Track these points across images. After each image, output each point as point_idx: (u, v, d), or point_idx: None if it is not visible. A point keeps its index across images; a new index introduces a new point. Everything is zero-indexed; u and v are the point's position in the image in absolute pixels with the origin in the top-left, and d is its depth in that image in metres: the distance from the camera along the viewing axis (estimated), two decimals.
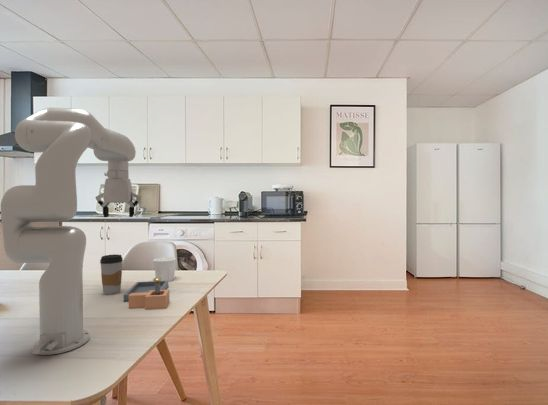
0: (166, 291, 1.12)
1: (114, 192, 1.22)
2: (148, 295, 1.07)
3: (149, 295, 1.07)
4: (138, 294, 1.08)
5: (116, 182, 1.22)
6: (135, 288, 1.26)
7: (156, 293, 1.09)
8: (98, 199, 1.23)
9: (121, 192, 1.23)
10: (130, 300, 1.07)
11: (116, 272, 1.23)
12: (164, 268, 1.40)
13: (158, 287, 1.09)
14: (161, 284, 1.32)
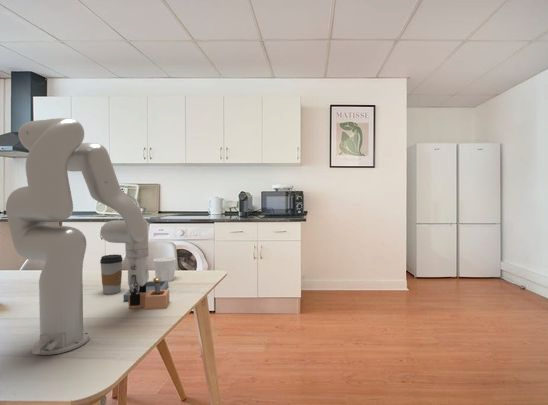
0: (166, 291, 1.12)
1: (145, 272, 1.09)
2: (148, 295, 1.07)
3: (149, 295, 1.07)
4: None
5: (145, 261, 1.10)
6: None
7: (156, 293, 1.09)
8: (134, 287, 1.03)
9: (147, 270, 1.12)
10: None
11: (116, 272, 1.23)
12: (164, 268, 1.40)
13: (158, 287, 1.09)
14: (161, 284, 1.32)
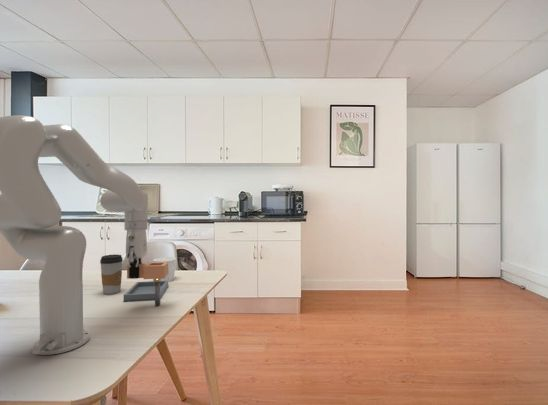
0: (165, 263, 1.11)
1: (143, 245, 1.08)
2: (147, 265, 1.06)
3: (148, 265, 1.07)
4: None
5: (144, 234, 1.09)
6: (135, 288, 1.26)
7: (156, 293, 1.09)
8: (133, 260, 1.03)
9: (145, 244, 1.11)
10: (128, 270, 1.06)
11: (116, 272, 1.23)
12: None
13: (158, 287, 1.09)
14: (161, 284, 1.32)
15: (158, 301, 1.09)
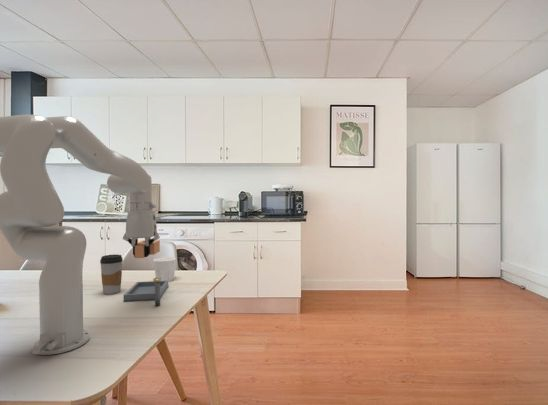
0: None
1: None
2: None
3: None
4: (143, 244, 1.14)
5: None
6: (135, 288, 1.26)
7: (156, 293, 1.09)
8: None
9: None
10: (143, 250, 1.11)
11: (116, 272, 1.23)
12: (164, 268, 1.40)
13: (158, 287, 1.09)
14: (161, 284, 1.32)
15: (158, 301, 1.09)
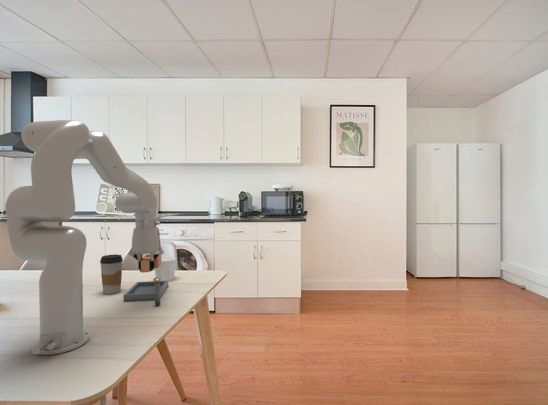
0: (149, 254, 1.29)
1: None
2: None
3: None
4: (148, 259, 1.21)
5: None
6: (135, 288, 1.26)
7: (156, 293, 1.09)
8: None
9: None
10: (149, 264, 1.18)
11: (116, 272, 1.23)
12: (164, 268, 1.40)
13: (158, 287, 1.09)
14: (161, 284, 1.32)
15: (158, 301, 1.09)
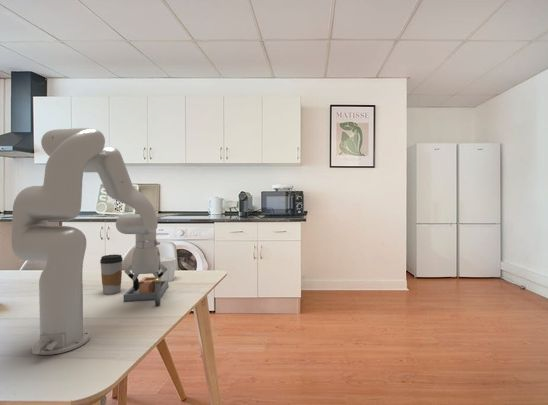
0: (148, 277, 1.29)
1: None
2: None
3: None
4: (147, 283, 1.20)
5: None
6: None
7: (156, 293, 1.09)
8: None
9: None
10: (148, 289, 1.18)
11: (116, 272, 1.23)
12: None
13: (158, 287, 1.09)
14: (161, 284, 1.32)
15: (158, 301, 1.09)
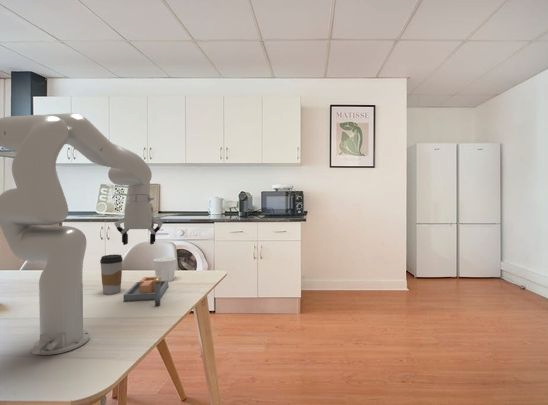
0: (148, 277, 1.29)
1: None
2: None
3: None
4: (147, 283, 1.20)
5: None
6: (135, 288, 1.26)
7: (156, 293, 1.09)
8: None
9: None
10: (148, 289, 1.18)
11: (116, 272, 1.23)
12: (164, 268, 1.40)
13: (158, 287, 1.09)
14: (161, 284, 1.32)
15: (158, 301, 1.09)
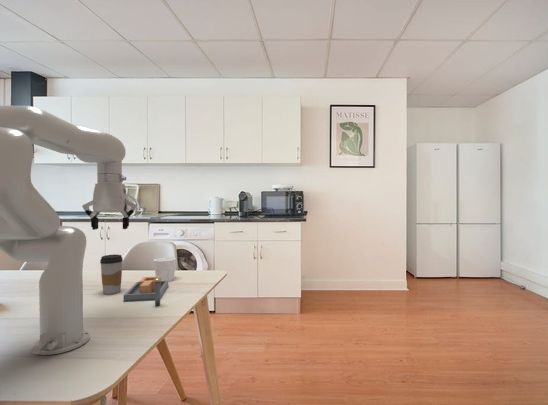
0: (148, 277, 1.29)
1: None
2: None
3: None
4: (147, 283, 1.20)
5: None
6: (135, 288, 1.26)
7: (156, 293, 1.09)
8: None
9: None
10: (148, 289, 1.18)
11: (116, 272, 1.23)
12: (164, 268, 1.40)
13: (158, 287, 1.09)
14: (161, 284, 1.32)
15: (158, 301, 1.09)
